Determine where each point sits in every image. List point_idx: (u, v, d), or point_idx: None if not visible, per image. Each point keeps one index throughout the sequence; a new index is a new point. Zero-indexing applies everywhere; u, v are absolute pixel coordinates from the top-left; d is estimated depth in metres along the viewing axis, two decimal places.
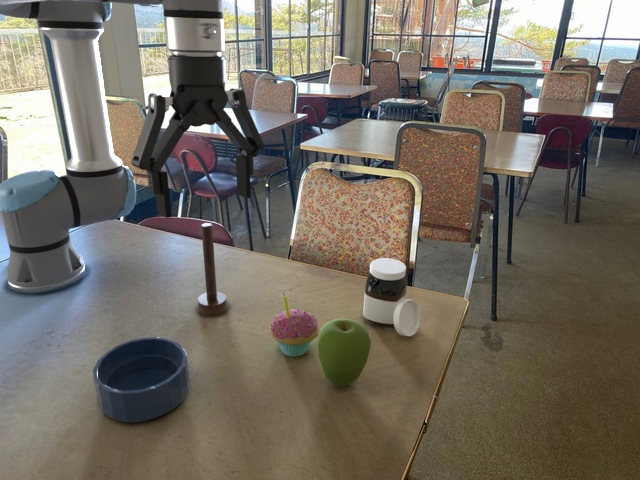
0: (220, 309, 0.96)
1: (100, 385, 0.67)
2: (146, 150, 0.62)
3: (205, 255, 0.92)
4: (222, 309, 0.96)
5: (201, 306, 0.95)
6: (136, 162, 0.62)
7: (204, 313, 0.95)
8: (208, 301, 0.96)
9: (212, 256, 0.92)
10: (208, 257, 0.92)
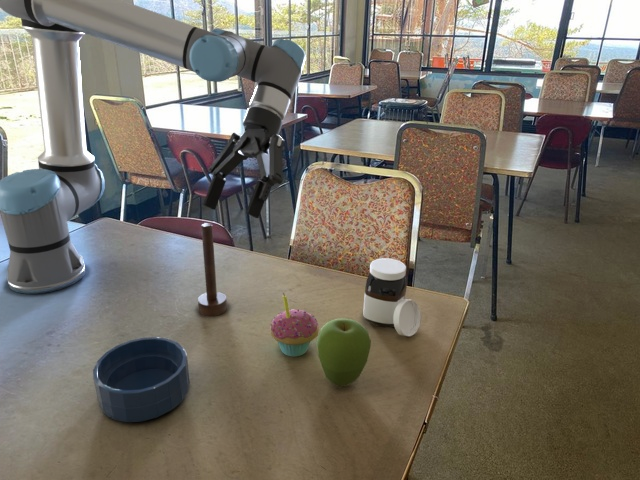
0: (220, 309, 0.96)
1: (100, 385, 0.67)
2: None
3: (205, 255, 0.92)
4: (222, 309, 0.96)
5: (201, 306, 0.95)
6: (279, 178, 0.89)
7: (204, 313, 0.95)
8: (208, 301, 0.96)
9: (212, 256, 0.92)
10: (208, 257, 0.92)
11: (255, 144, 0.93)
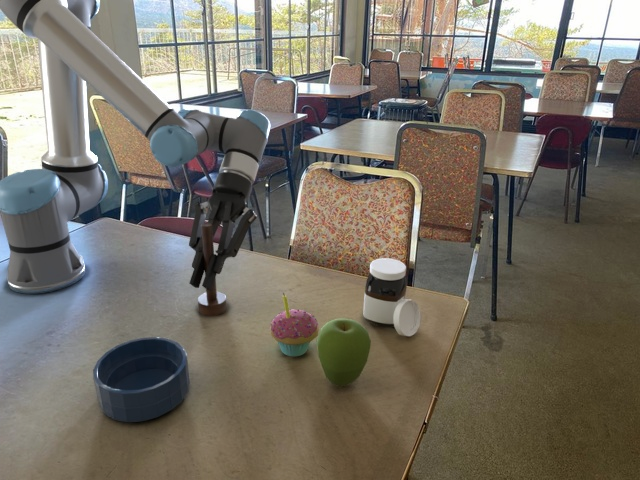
0: (220, 309, 0.96)
1: (100, 385, 0.67)
2: None
3: (205, 255, 0.92)
4: (222, 309, 0.96)
5: (201, 306, 0.95)
6: (234, 253, 0.93)
7: (204, 313, 0.95)
8: (208, 301, 0.96)
9: (211, 256, 0.92)
10: (208, 257, 0.92)
11: (228, 211, 0.95)
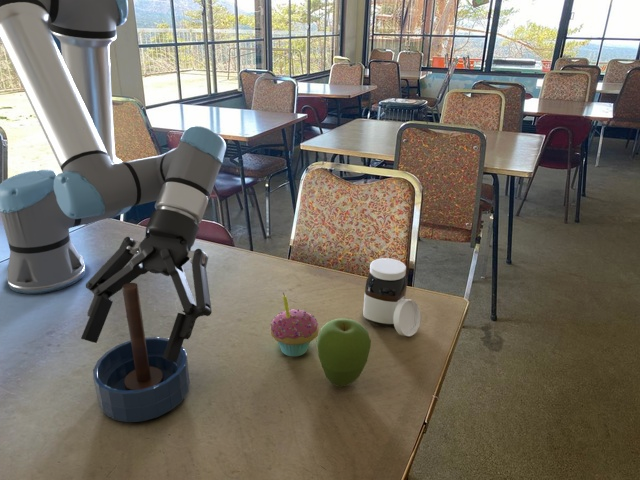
0: None
1: (100, 385, 0.67)
2: None
3: (130, 325, 0.68)
4: None
5: (128, 390, 0.71)
6: (209, 309, 0.69)
7: None
8: (138, 382, 0.72)
9: (139, 326, 0.69)
10: (134, 328, 0.68)
11: (169, 260, 0.71)
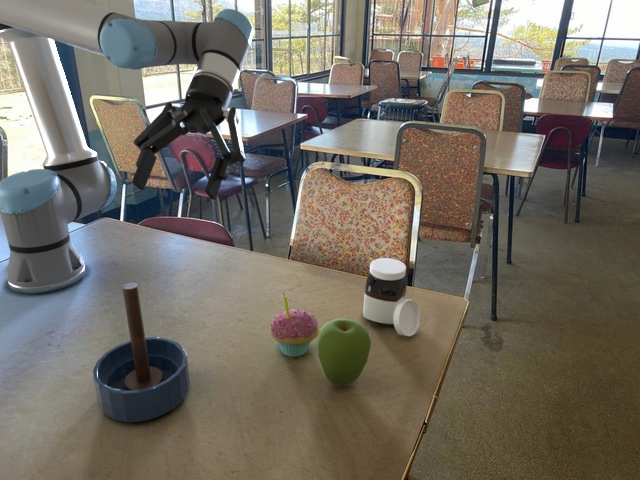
0: None
1: (100, 385, 0.67)
2: None
3: (130, 325, 0.68)
4: None
5: (128, 390, 0.71)
6: (243, 155, 0.79)
7: None
8: (138, 382, 0.72)
9: (139, 326, 0.69)
10: (134, 328, 0.68)
11: (207, 116, 0.81)
